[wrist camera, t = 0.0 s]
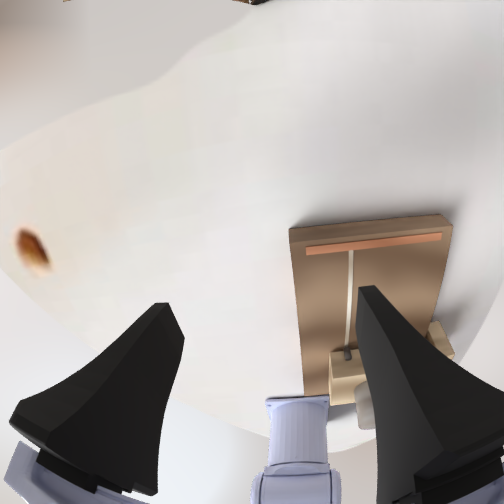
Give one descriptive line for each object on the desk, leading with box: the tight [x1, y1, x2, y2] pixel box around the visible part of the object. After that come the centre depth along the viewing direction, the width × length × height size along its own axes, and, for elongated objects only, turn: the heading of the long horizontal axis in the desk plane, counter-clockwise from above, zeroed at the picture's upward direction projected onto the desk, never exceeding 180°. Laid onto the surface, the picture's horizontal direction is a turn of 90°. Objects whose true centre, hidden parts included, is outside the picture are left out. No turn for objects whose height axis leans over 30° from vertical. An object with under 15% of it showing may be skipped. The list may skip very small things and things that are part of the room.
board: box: [289, 214, 453, 396], centre depth 22 cm, size 19×12×2 cm, turn 10°
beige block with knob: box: [328, 321, 455, 430], centre depth 21 cm, size 6×12×8 cm, turn 100°
